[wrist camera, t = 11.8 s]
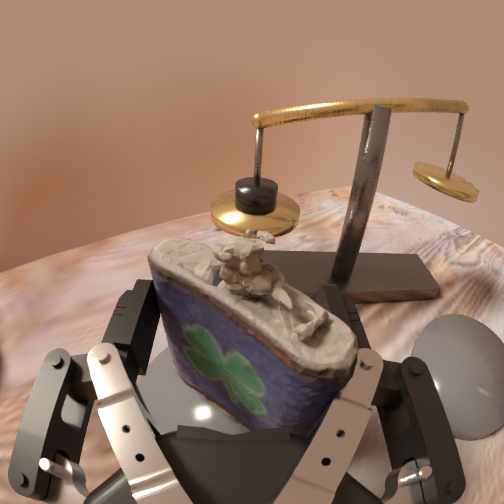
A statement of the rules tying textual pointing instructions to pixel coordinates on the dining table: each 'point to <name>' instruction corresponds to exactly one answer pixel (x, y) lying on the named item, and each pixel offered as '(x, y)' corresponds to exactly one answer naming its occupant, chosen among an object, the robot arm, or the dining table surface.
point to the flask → (249, 334)
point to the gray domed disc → (465, 373)
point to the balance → (360, 203)
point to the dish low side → (180, 401)
